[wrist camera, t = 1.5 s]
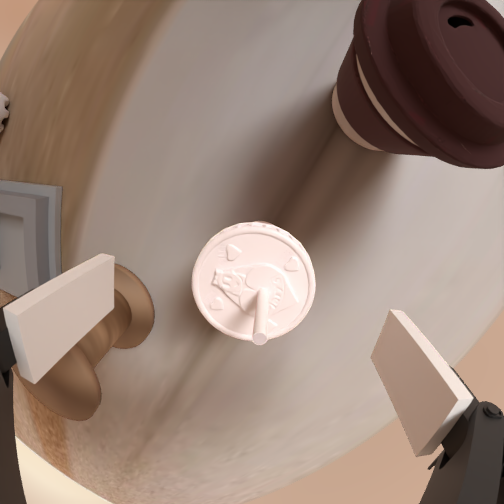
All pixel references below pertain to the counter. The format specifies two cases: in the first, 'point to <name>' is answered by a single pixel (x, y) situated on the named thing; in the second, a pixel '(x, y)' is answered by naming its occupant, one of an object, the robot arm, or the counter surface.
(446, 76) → the coffee cup
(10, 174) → the counter surface
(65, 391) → the bobbin
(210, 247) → the smoothie
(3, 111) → the bottle
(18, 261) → the notch board
